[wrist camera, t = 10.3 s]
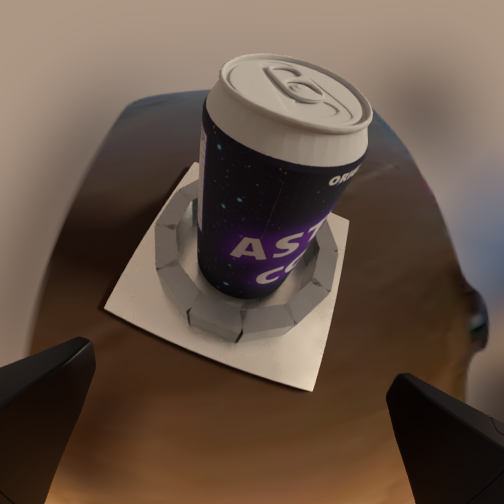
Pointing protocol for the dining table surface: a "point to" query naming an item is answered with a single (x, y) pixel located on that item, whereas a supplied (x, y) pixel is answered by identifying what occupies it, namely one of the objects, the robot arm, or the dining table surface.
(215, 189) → the beverage can
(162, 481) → the dining table surface
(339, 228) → the collar seat
